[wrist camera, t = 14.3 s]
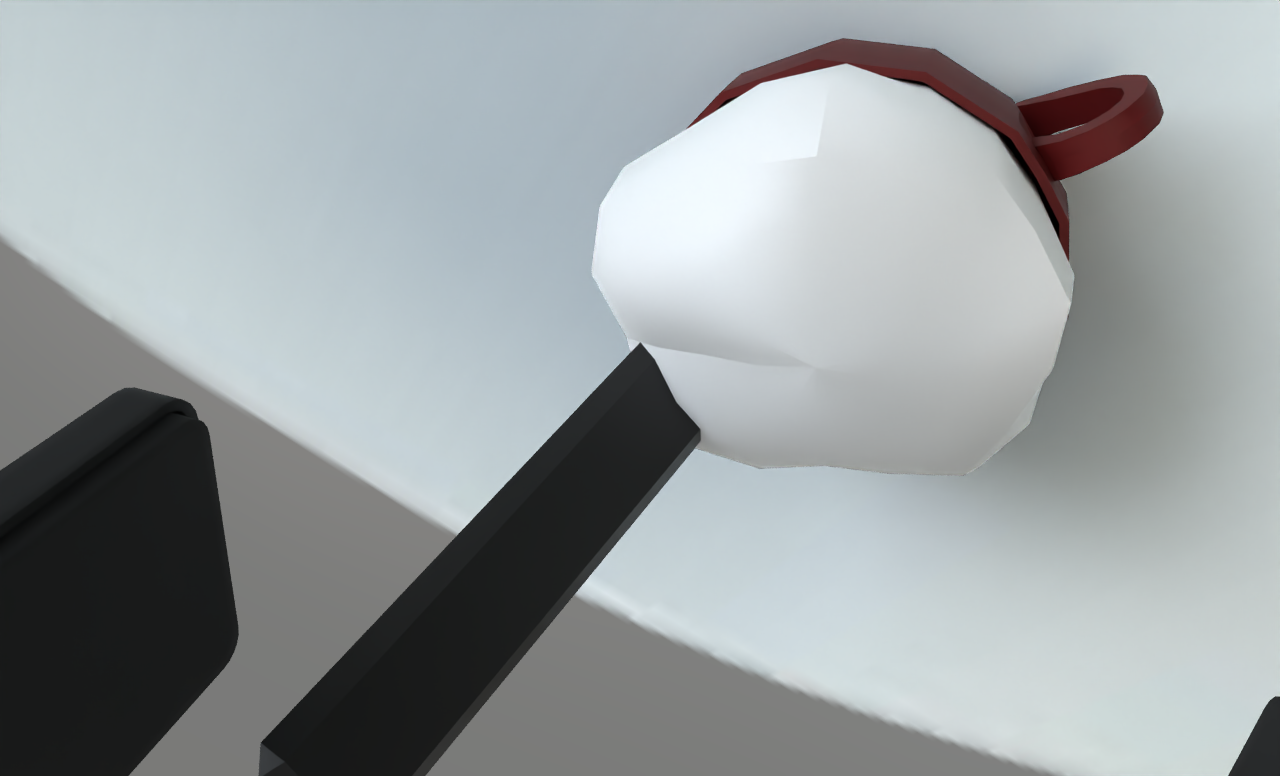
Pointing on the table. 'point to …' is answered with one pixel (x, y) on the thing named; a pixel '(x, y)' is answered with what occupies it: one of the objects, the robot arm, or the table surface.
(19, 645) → the robot arm
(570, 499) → the cocoa
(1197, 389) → the table surface
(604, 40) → the table surface
